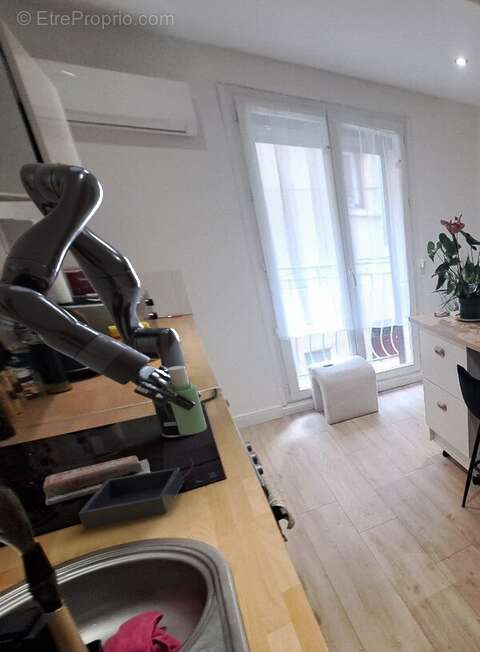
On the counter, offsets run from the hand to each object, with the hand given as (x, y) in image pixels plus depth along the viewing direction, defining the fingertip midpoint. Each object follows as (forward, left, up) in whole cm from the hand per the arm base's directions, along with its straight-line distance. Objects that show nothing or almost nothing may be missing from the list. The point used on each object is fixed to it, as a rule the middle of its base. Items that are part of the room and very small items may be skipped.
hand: (195, 402), depth 98 cm
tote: (+6, -14, -22) cm, 26 cm away
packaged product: (-8, -25, -22) cm, 34 cm away
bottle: (0, -2, -7) cm, 7 cm away
